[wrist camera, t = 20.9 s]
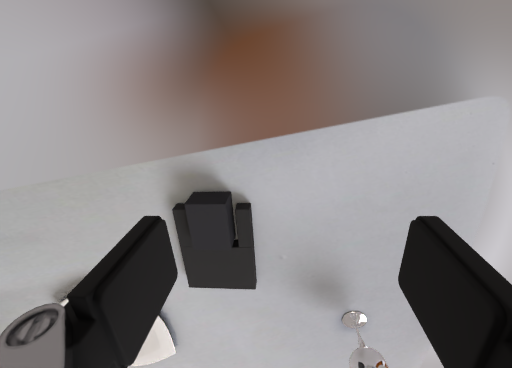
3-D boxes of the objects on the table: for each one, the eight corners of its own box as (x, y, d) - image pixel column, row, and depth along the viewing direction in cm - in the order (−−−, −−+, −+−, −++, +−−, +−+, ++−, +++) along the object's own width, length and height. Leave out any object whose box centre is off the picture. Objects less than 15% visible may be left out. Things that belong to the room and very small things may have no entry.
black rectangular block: (193, 192, 39) (184, 204, 35) (230, 191, 38) (225, 203, 35) (200, 234, 42) (193, 249, 38) (235, 234, 41) (231, 250, 38)
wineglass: (369, 330, 48) (395, 407, 37) (338, 330, 48) (354, 404, 37) (371, 308, 45) (400, 383, 34) (338, 308, 46) (356, 381, 35)
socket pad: (177, 203, 40) (172, 209, 38) (250, 202, 39) (249, 209, 37) (192, 279, 46) (189, 287, 45) (256, 280, 45) (255, 289, 43)
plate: (138, 271, 47) (132, 279, 45) (192, 349, 55) (189, 358, 53) (47, 294, 52) (38, 302, 50) (108, 362, 60) (103, 371, 58)
